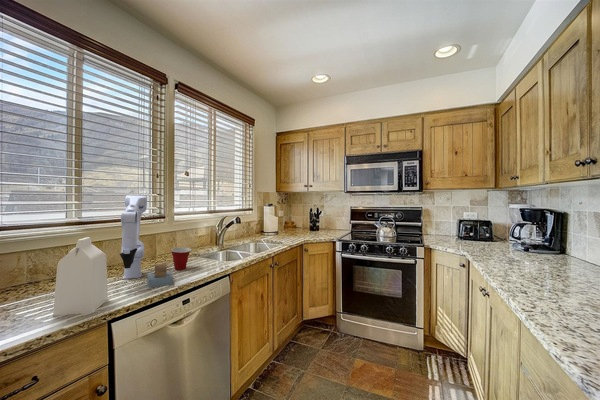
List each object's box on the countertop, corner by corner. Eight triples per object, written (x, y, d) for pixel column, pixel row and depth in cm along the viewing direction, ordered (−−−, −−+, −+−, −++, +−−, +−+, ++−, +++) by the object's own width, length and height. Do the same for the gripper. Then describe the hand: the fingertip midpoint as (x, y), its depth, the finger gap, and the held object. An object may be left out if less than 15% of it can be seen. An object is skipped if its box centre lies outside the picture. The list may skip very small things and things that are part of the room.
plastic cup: (182, 272, 137) (182, 251, 137) (165, 270, 140) (166, 249, 140) (194, 267, 148) (195, 247, 148) (179, 265, 150) (179, 246, 150)
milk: (92, 312, 89) (94, 241, 89) (53, 315, 86) (54, 241, 86) (107, 299, 100) (109, 235, 100) (73, 301, 97) (75, 236, 97)
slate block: (147, 282, 122) (147, 274, 122) (170, 279, 128) (170, 271, 128) (148, 288, 114) (148, 280, 114) (172, 285, 119) (172, 276, 119)
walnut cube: (154, 274, 122) (155, 264, 121) (166, 273, 124) (166, 263, 124) (154, 277, 117) (154, 267, 117) (166, 276, 120) (166, 266, 120)
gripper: (137, 239, 111) (137, 269, 111) (141, 234, 124) (140, 261, 124) (118, 240, 107) (117, 270, 108) (124, 235, 120) (123, 262, 120)
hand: (128, 266), depth 115 cm, fingers open, 7 cm apart
